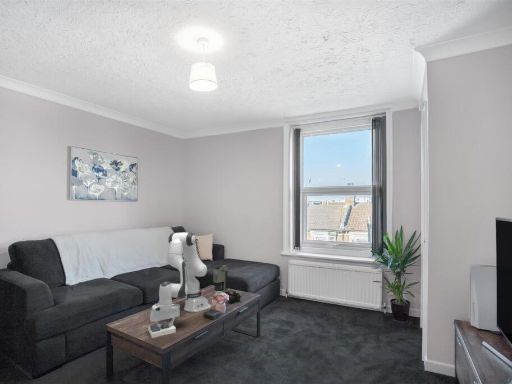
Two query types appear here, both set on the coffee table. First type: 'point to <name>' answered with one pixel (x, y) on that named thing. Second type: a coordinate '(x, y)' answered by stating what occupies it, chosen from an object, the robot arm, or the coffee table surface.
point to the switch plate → (161, 330)
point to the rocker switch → (164, 325)
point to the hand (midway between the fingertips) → (165, 325)
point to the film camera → (233, 296)
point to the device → (220, 278)
